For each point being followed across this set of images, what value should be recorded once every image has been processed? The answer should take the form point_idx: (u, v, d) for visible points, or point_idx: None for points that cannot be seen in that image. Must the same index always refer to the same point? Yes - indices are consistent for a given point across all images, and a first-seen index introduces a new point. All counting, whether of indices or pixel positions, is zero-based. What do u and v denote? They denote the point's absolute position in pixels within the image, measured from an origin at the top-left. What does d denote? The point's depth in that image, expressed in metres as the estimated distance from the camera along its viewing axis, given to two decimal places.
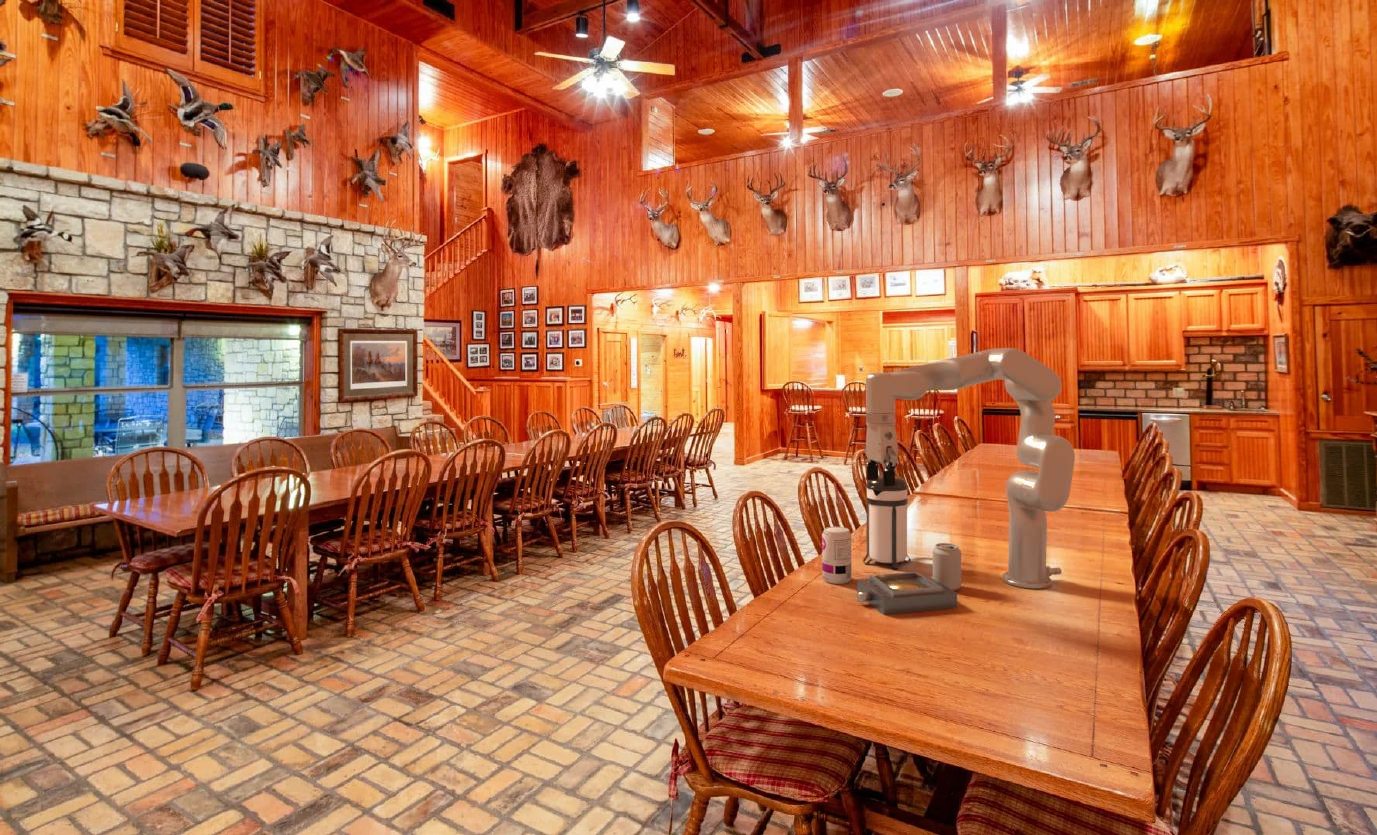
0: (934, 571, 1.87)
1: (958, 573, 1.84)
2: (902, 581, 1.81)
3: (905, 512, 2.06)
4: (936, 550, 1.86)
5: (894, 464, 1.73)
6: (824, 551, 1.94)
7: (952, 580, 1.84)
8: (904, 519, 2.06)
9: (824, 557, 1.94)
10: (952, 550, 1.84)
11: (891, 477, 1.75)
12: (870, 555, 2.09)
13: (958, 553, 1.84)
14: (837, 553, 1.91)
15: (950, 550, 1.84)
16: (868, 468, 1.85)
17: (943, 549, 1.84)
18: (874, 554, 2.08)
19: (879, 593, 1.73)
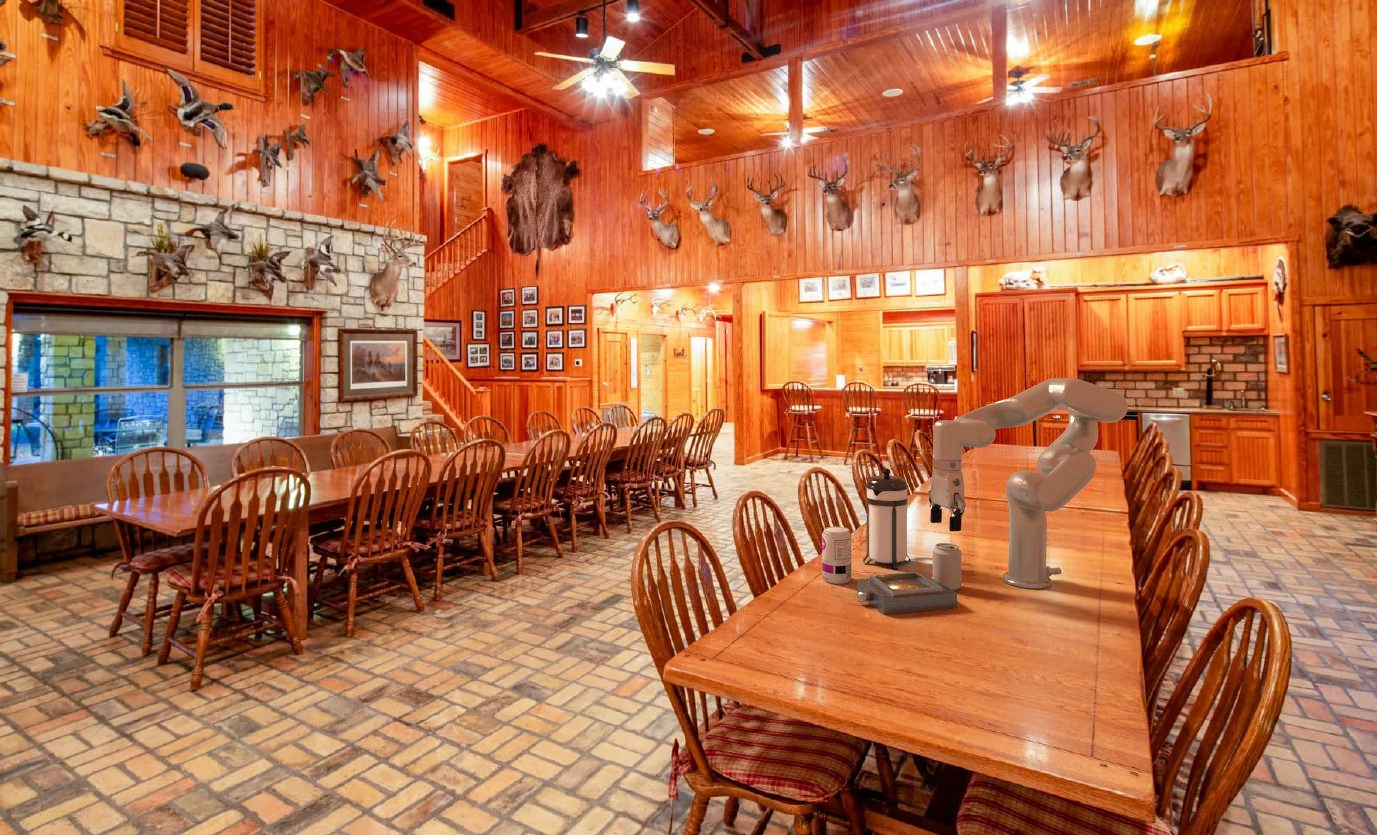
0: (934, 571, 1.87)
1: (958, 573, 1.84)
2: (902, 581, 1.81)
3: (905, 512, 2.06)
4: (936, 550, 1.86)
5: (962, 511, 1.78)
6: (824, 551, 1.94)
7: (952, 580, 1.84)
8: (904, 519, 2.06)
9: (824, 557, 1.94)
10: (952, 550, 1.84)
11: (958, 523, 1.80)
12: (870, 555, 2.09)
13: (958, 553, 1.84)
14: (837, 553, 1.91)
15: (950, 550, 1.84)
16: (932, 511, 1.90)
17: (943, 549, 1.84)
18: (874, 554, 2.08)
19: (879, 593, 1.73)
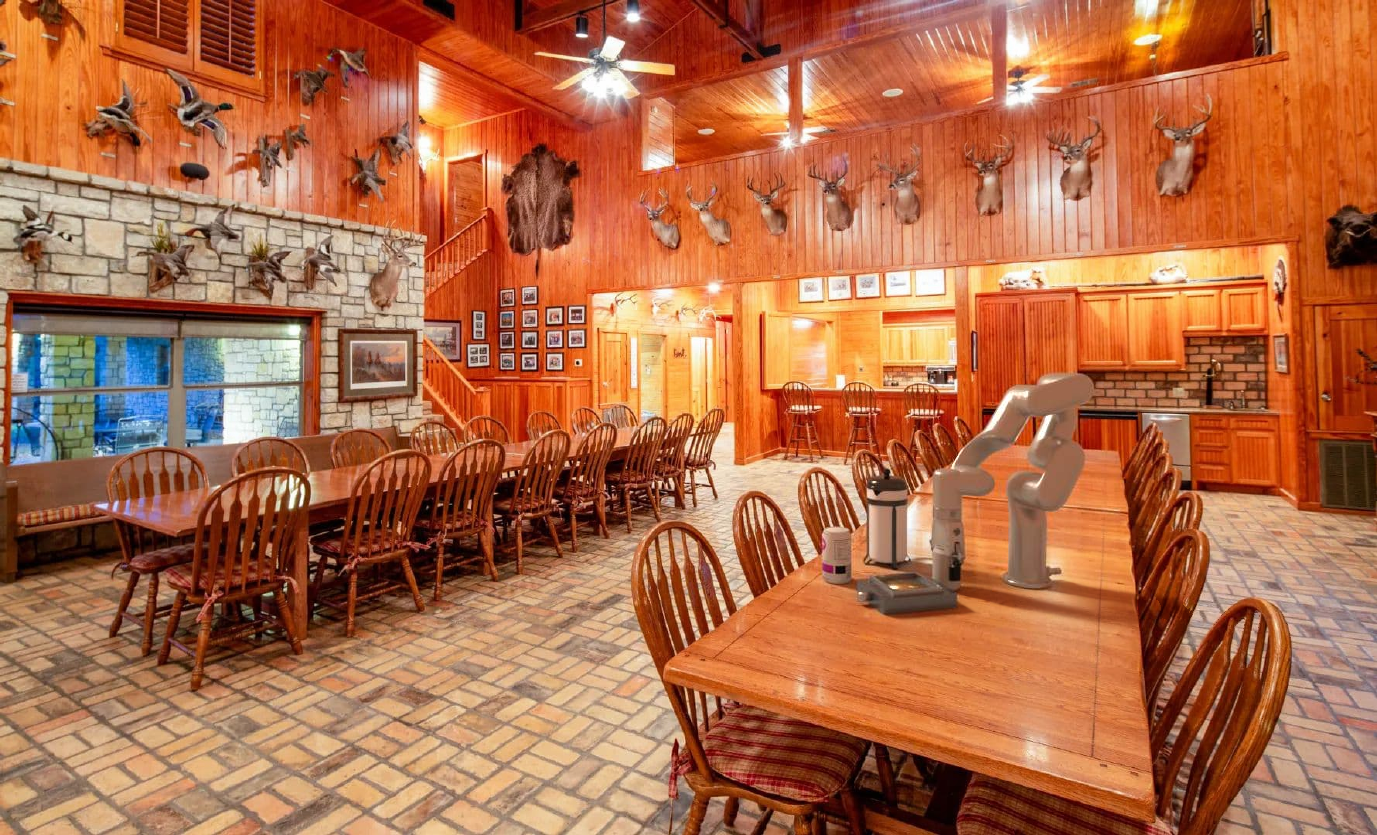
0: (934, 571, 1.87)
1: None
2: (902, 581, 1.81)
3: (905, 512, 2.06)
4: (936, 550, 1.86)
5: (961, 562, 1.80)
6: (824, 551, 1.94)
7: None
8: (904, 519, 2.06)
9: (824, 557, 1.94)
10: None
11: (957, 573, 1.82)
12: (870, 555, 2.09)
13: None
14: (837, 553, 1.91)
15: None
16: None
17: None
18: (874, 554, 2.08)
19: (879, 593, 1.73)
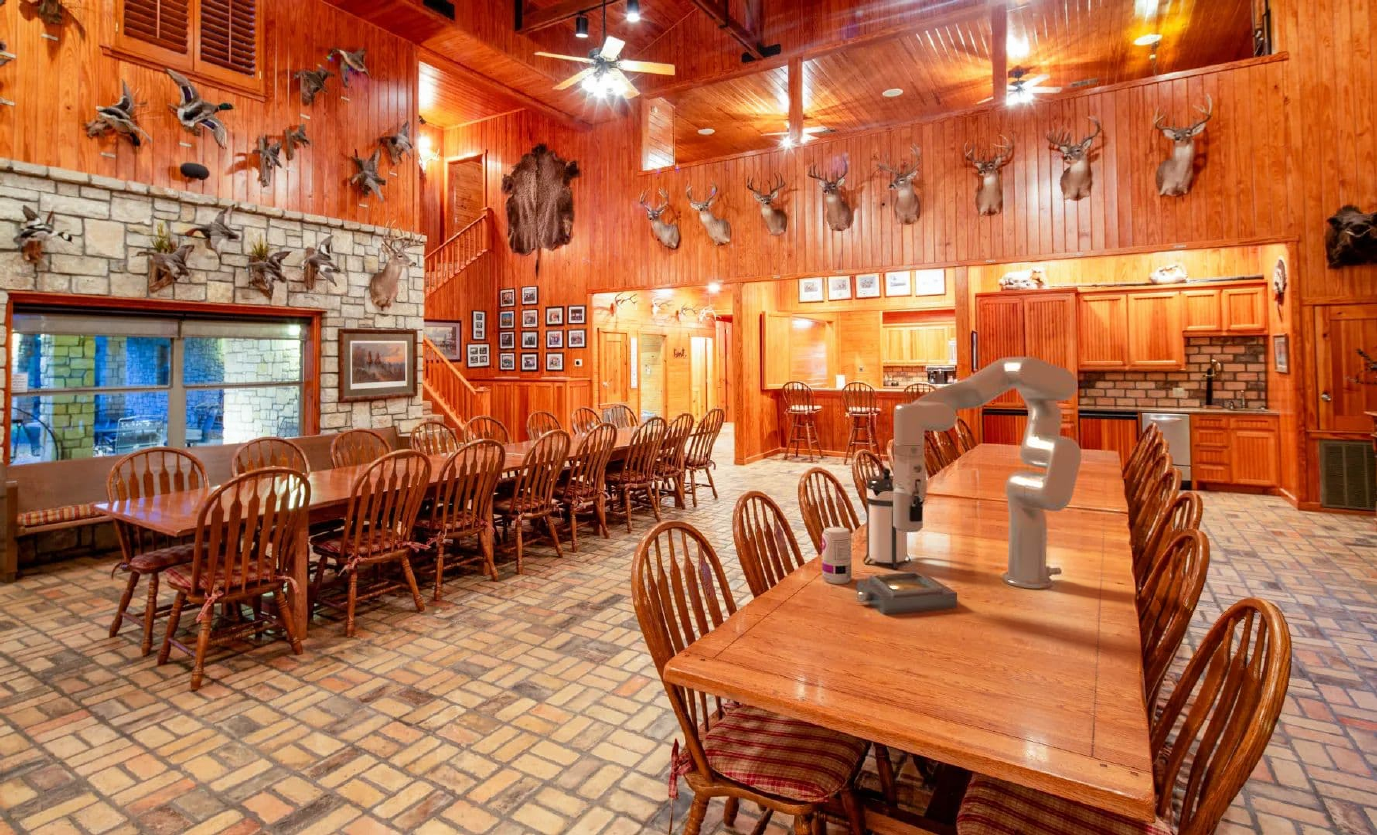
0: (894, 512, 1.76)
1: None
2: (902, 581, 1.81)
3: None
4: (897, 489, 1.76)
5: (922, 500, 1.70)
6: (824, 551, 1.94)
7: None
8: None
9: (824, 557, 1.94)
10: None
11: (918, 512, 1.72)
12: (870, 555, 2.09)
13: None
14: (837, 553, 1.91)
15: None
16: None
17: None
18: (874, 554, 2.08)
19: (879, 593, 1.73)
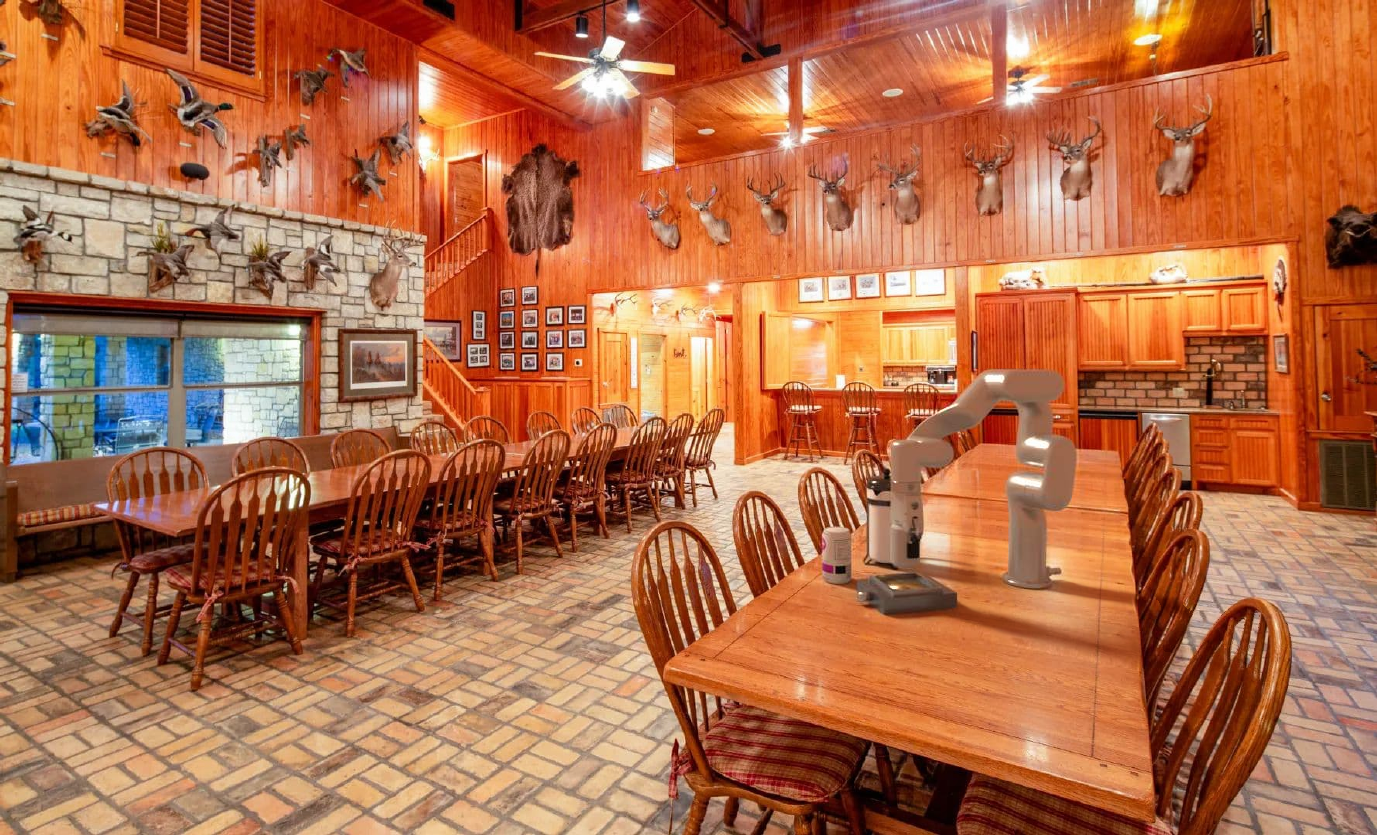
0: (891, 548, 1.76)
1: None
2: (902, 581, 1.81)
3: None
4: (894, 526, 1.76)
5: (919, 538, 1.70)
6: (824, 551, 1.94)
7: None
8: None
9: (824, 557, 1.94)
10: None
11: (915, 549, 1.72)
12: (870, 555, 2.09)
13: None
14: (837, 553, 1.91)
15: None
16: None
17: None
18: (874, 554, 2.08)
19: (879, 593, 1.73)
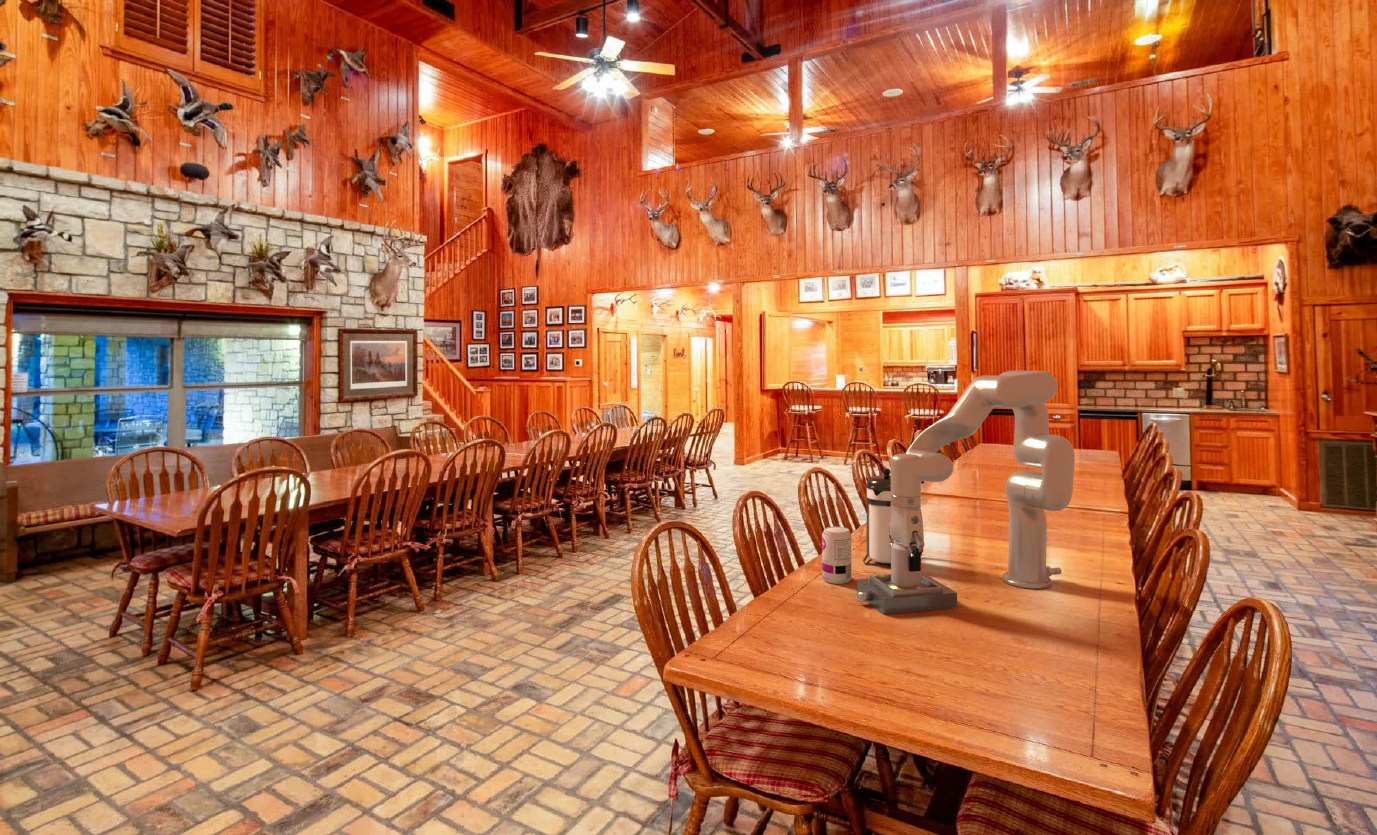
0: (892, 568, 1.77)
1: None
2: None
3: None
4: (894, 545, 1.76)
5: (920, 550, 1.69)
6: (824, 551, 1.94)
7: (911, 577, 1.74)
8: None
9: (824, 557, 1.94)
10: None
11: (917, 562, 1.72)
12: (870, 555, 2.09)
13: None
14: (837, 553, 1.91)
15: None
16: None
17: (901, 544, 1.75)
18: (874, 554, 2.08)
19: (879, 593, 1.73)
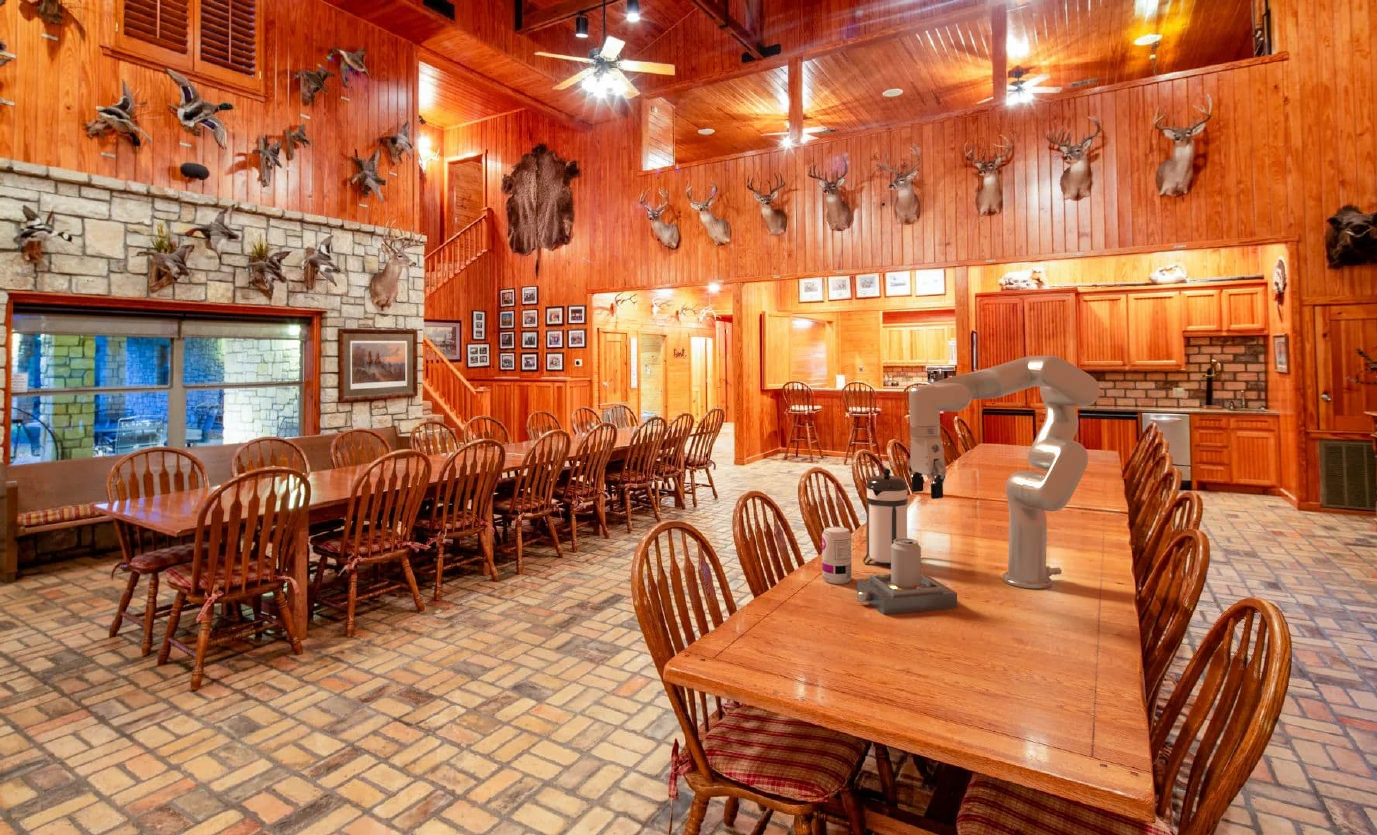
0: (892, 568, 1.77)
1: (917, 570, 1.74)
2: None
3: (905, 512, 2.06)
4: (894, 546, 1.76)
5: (943, 477, 1.74)
6: (824, 551, 1.94)
7: (911, 577, 1.74)
8: (904, 519, 2.06)
9: (824, 557, 1.94)
10: (911, 545, 1.74)
11: (939, 489, 1.76)
12: (870, 555, 2.09)
13: (917, 549, 1.74)
14: (837, 553, 1.91)
15: (908, 545, 1.74)
16: (913, 480, 1.86)
17: (901, 544, 1.75)
18: (874, 554, 2.08)
19: (879, 593, 1.73)
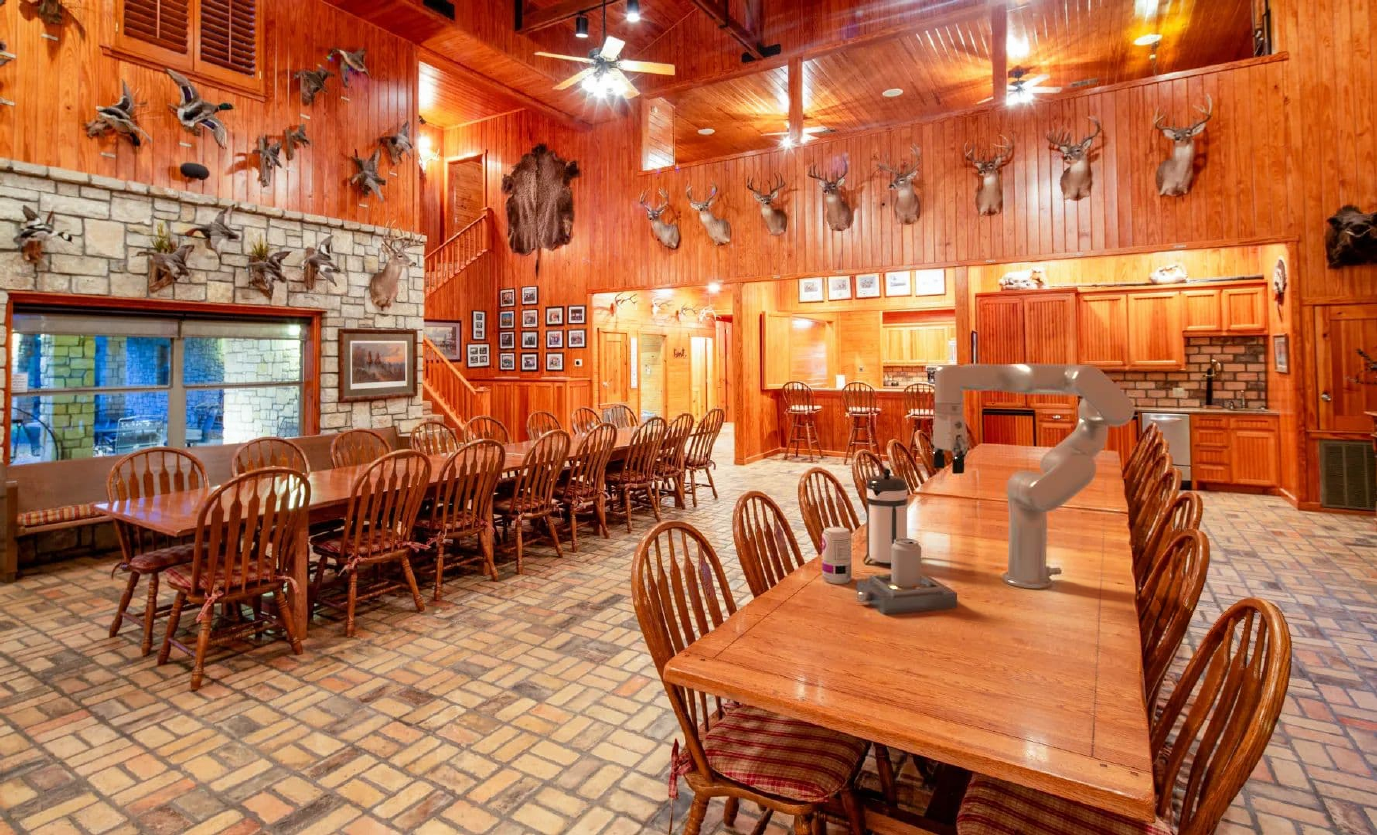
0: (892, 568, 1.77)
1: (917, 570, 1.74)
2: None
3: (905, 512, 2.06)
4: (895, 545, 1.76)
5: (964, 452, 1.80)
6: (824, 551, 1.94)
7: (911, 577, 1.74)
8: (904, 519, 2.06)
9: (824, 557, 1.94)
10: (911, 545, 1.74)
11: (961, 465, 1.83)
12: (870, 555, 2.09)
13: (917, 549, 1.74)
14: (837, 553, 1.91)
15: (909, 545, 1.74)
16: (935, 457, 1.92)
17: (902, 544, 1.75)
18: (874, 554, 2.08)
19: (879, 593, 1.73)
